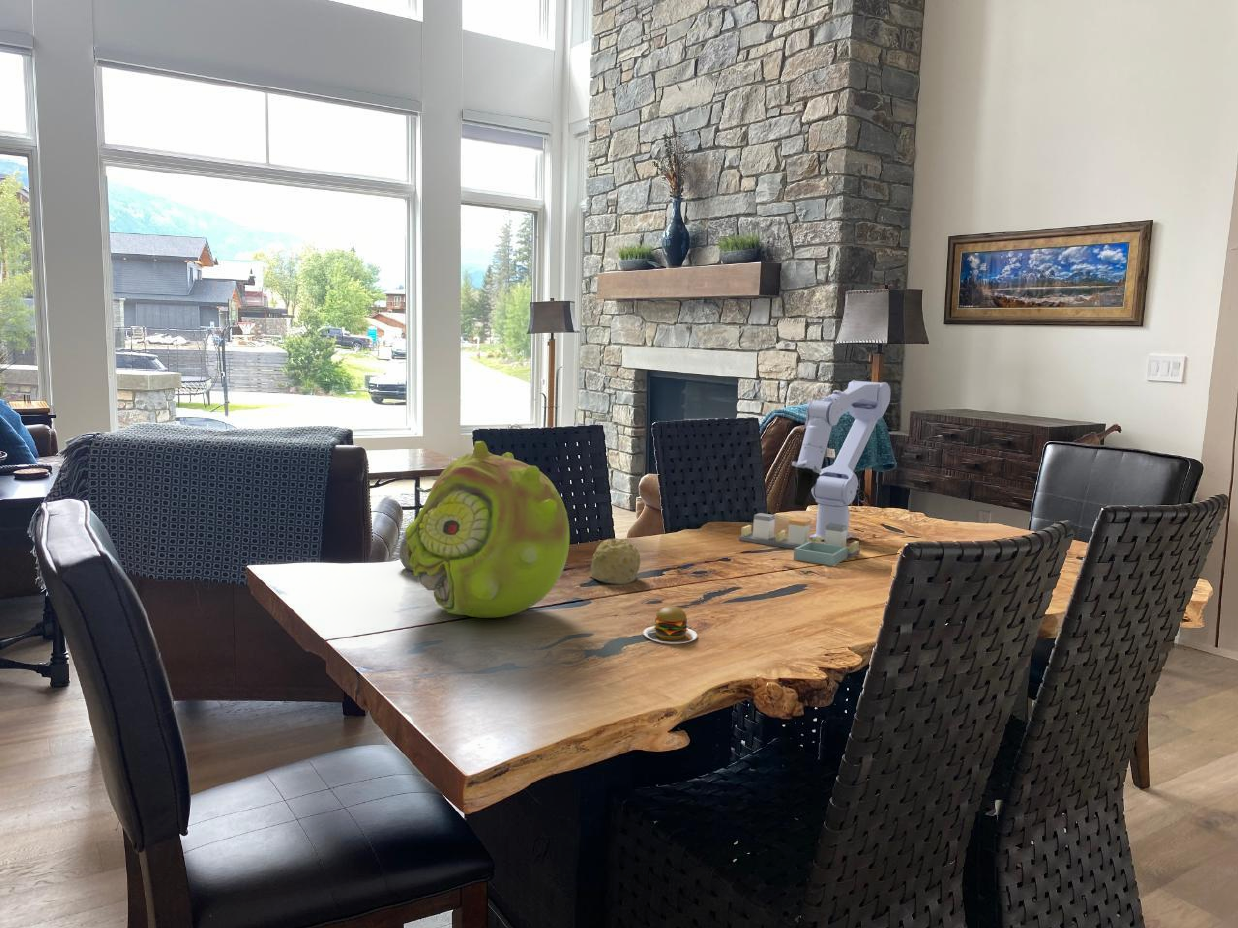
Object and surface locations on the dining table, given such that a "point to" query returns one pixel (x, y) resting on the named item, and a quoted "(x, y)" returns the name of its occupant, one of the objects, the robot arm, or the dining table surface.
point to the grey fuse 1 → (763, 526)
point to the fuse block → (782, 541)
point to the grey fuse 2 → (836, 534)
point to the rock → (615, 562)
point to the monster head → (489, 536)
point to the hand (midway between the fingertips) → (799, 503)
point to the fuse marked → (799, 531)
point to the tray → (820, 553)
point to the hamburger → (670, 625)
